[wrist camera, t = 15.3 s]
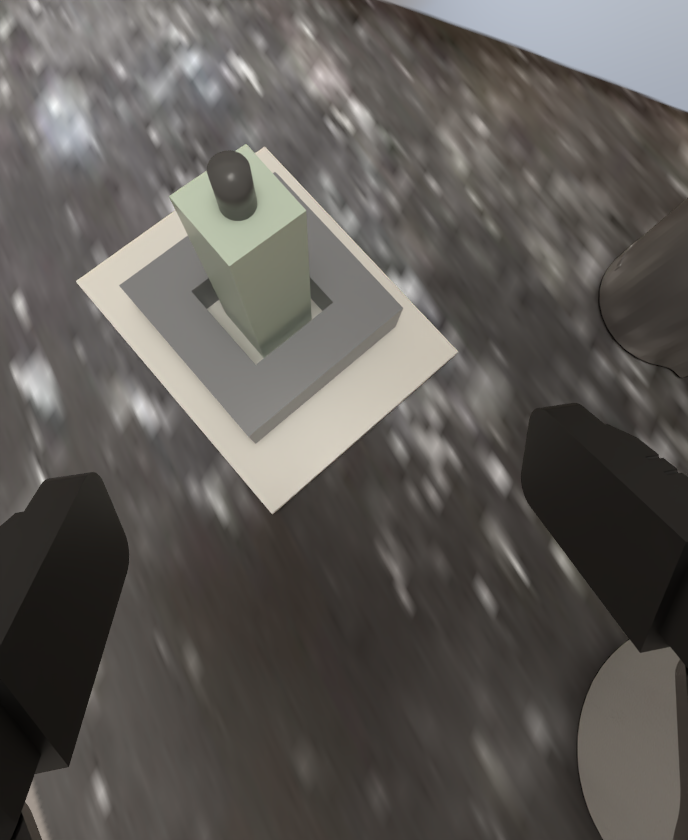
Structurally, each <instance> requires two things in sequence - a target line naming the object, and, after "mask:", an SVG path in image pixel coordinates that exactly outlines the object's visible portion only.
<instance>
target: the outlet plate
mask: <svg viewBox="0 0 688 840" xmlns="http://www.w3.org/2000/svg"><path fill="white" fill-rule="evenodd" d="M255 154H256V155H257V156H258V158H259V159H260V160H261V161H262V162H263V163H264V164H265V165H266V166H267V167H268V169H269V170H270V171H271V172H272V173H273V174H274V175H275V176H276V177H277V179H278V180H279V181H280V182H281V183H282V184H283V185H284V186H285V187H286V189H287V190H288V191H289V192H290V193H291V194H292V195H293V196H294V197H295V198H296V200H297V201H298V202H299V203H300V204H301V205H302V206H303V207H304V208H305V210H306V214H307V234H308V255H309V275H310V295H311V316H312V320H311V321H310V322H308V323H307V324H306V325H305V326H303V327H302V328H301V329H300V330H298V331H297V332H296V333H295V334H293V335H292V336H291V337H290V338H288V339H287V340H286V341H285V342H283V343H282V344H281V345H280V346H278V347H277V348H276V349H275V350H274V351H272V352H271V353H270V354H269V355H267V356H266V357H265V358H263V357H262V356H261V355H260V353H259V352H258V351H257V350H256V349H255V347H254V346H253V345H252V344H251V343H250V342H249V340H248V339H247V338H246V337H245V336H244V334H243V333H242V332H241V331H240V330H239V329H238V327H237V326H236V325H235V324H234V323H233V322H232V320H231V319H230V318H229V317H228V316H227V314H226V313H225V311H224V309H223V307H222V305H221V302H220V300H219V298H218V296H217V294H216V292H215V290H214V288H213V286H212V284H211V282H210V280H209V278H208V276H207V274H206V272H205V270H204V268H203V265H202V263H201V261H200V259H199V257H198V255H197V253H196V251H195V249H194V247H193V245H192V243H191V241H190V239H189V237H188V235H187V233H186V231H185V228H184V226H183V224H182V222H181V220H180V218H179V216H178V214H177V212H176V210H175V211H174V212H172V213H171V214H169V215H168V216H167V217H165V218H164V219H162V220H161V221H160V222H158V223H157V224H155V225H154V226H153V227H151V228H150V229H148V230H147V231H146V232H144V233H143V234H141V235H140V236H139V237H137V238H136V239H134V240H133V241H132V242H130V243H129V244H127V245H126V246H125V247H123V248H122V249H120V250H119V251H118V252H116V253H115V254H113V255H112V256H111V257H109V258H108V259H106V260H105V261H104V262H102V263H101V264H99V265H98V266H97V267H95V268H94V269H92V270H91V271H90V272H88V273H87V274H85V275H84V276H83V277H81V278H80V279H78V280H77V281H76V282H77V283H78V285H79V286H80V287H81V288H82V289H83V291H84V292H85V293H86V294H87V295H88V297H89V298H90V299H91V300H92V301H93V302H94V304H95V305H96V306H97V307H98V308H99V310H100V311H101V312H102V313H103V314H104V315H105V317H106V318H107V319H108V320H109V321H110V323H111V324H112V325H113V326H114V327H115V329H116V330H117V331H118V332H119V333H120V334H121V336H122V337H123V338H124V339H125V340H126V342H127V343H128V344H129V345H130V346H131V347H132V349H133V350H134V351H135V352H136V353H137V355H138V356H139V357H140V358H141V359H142V361H143V362H144V363H145V364H146V365H147V366H148V368H149V369H150V370H151V371H152V372H153V374H154V375H155V376H156V377H157V378H158V379H159V381H160V382H161V383H162V384H163V385H164V387H165V388H166V389H167V390H168V391H169V393H170V394H171V395H172V396H173V397H174V398H175V400H176V401H177V402H178V403H179V404H180V406H181V407H182V408H183V409H184V410H185V411H186V413H187V414H188V415H189V416H190V417H191V419H192V420H193V421H194V422H195V423H196V425H197V426H198V427H199V428H200V429H201V430H202V432H203V433H204V434H205V435H206V436H207V438H208V439H209V440H210V441H211V442H212V444H213V445H214V446H215V447H216V448H217V449H218V451H219V452H220V453H221V454H222V455H223V457H224V458H225V459H226V460H227V461H228V462H229V464H230V465H231V466H232V467H233V468H234V470H235V471H236V472H237V473H238V474H239V476H240V477H241V478H242V479H243V480H244V481H245V483H246V484H247V485H248V486H249V487H250V489H251V490H252V491H253V492H254V493H255V494H256V496H257V497H258V498H259V499H260V500H261V502H262V503H263V504H264V505H265V506H266V508H267V509H268V510H269V511H270V512H271V513H272V514H274V513H275V512H276V511H278V510H279V509H280V508H281V507H282V506H283V505H284V504H286V503H287V502H288V501H289V500H290V499H291V498H292V497H294V496H295V495H296V494H297V493H298V492H299V491H300V490H302V489H303V488H304V487H305V486H306V485H307V484H309V483H310V482H311V481H312V480H313V479H314V478H315V477H317V476H318V475H319V474H320V473H321V472H322V471H323V470H325V469H326V468H327V467H328V466H329V465H330V464H331V463H333V462H334V461H335V460H336V459H337V458H338V457H339V456H341V455H342V454H343V453H344V452H345V451H346V450H347V449H349V448H350V447H351V446H352V445H353V444H354V443H355V442H357V441H358V440H359V439H360V438H361V437H362V436H363V435H365V434H366V433H367V432H368V431H369V430H370V429H371V428H373V427H374V426H375V425H376V424H377V423H378V422H379V421H381V420H382V419H383V418H384V417H385V416H386V415H387V414H389V413H390V412H391V411H392V410H393V409H394V408H396V407H397V406H398V405H399V404H400V403H401V402H402V401H404V400H405V399H406V398H407V397H408V396H409V395H410V394H412V393H413V392H414V391H415V390H416V389H417V388H418V387H420V386H421V385H422V384H423V383H424V382H425V381H426V380H428V379H429V378H430V377H431V376H432V375H433V374H434V373H436V372H437V371H438V370H439V369H440V368H441V367H442V366H444V365H445V364H446V363H447V362H448V361H449V360H450V359H452V358H453V357H454V356H455V355H456V354H457V352H458V351H457V350H456V349H455V348H454V347H453V346H452V345H451V344H450V342H449V341H448V340H447V339H446V338H445V337H444V336H443V335H442V334H441V333H440V332H439V331H438V330H437V329H436V328H435V327H434V326H433V324H432V323H431V322H430V321H429V320H428V319H427V318H426V317H425V316H424V315H423V314H422V313H421V312H420V311H419V310H418V309H417V307H416V306H415V305H414V304H413V303H412V302H411V301H410V300H409V299H408V298H407V297H406V296H405V295H404V294H403V293H402V292H401V291H400V289H399V288H398V287H397V286H396V285H395V284H394V283H393V282H392V281H391V280H390V279H389V278H388V277H387V276H386V275H385V274H384V273H383V271H382V270H381V269H380V268H379V267H378V266H377V265H376V264H375V263H374V262H373V261H372V260H371V259H370V258H369V257H368V256H367V254H366V253H365V252H364V251H363V250H362V249H361V248H360V247H359V246H358V245H357V244H356V243H355V242H354V241H353V240H352V239H351V238H350V236H349V235H348V234H347V233H346V232H345V231H344V230H343V229H342V228H341V227H340V226H339V225H338V224H337V223H336V222H335V221H334V220H333V218H332V217H331V216H330V215H329V214H328V213H327V212H326V211H325V210H324V209H323V208H322V207H321V206H320V205H319V204H318V203H317V201H316V200H315V199H314V198H313V197H312V196H311V195H310V194H309V193H308V192H307V191H306V190H305V189H304V188H303V187H302V186H301V185H300V183H299V182H298V181H297V180H296V179H295V178H294V177H293V176H292V175H291V174H290V173H289V172H288V171H287V170H286V169H285V168H284V167H283V165H282V164H281V163H280V162H279V161H278V160H277V159H276V158H275V157H274V156H273V155H272V154H271V153H270V152H269V151H268V150H267V149H266V147H263V148H262V149H260V150H259V151H258V152H256V153H255Z"/></svg>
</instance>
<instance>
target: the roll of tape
mask: <svg viewBox="0 0 688 840" xmlns="http://www.w3.org/2000/svg"><path fill="white" fill-rule="evenodd" d="M679 660H680V658H679V657H678V656H677V655H676V653H675V652H674V651H673V650H672V648H671V647H667V648H662V649H657V650H652V651H648V652H643V653H640V652H639V651H638V650H637V648H636V647H635V646H634V644H633V643H632V642H631V640H628V641H627V642H625V643H624V644H623V645H622V646H620V647H619V648H618V649H617V650H616V651H615V652H614V653H613V654H612V655H611V656H610V657H609V658H608V660H607V661H606V662H605V663H604V665H603V666H602V667H601V669H600V670H599V672H598V674H597V675H596V677H595V678H594V680H593V682H592V684H591V687H590V689H589V691H588V694H587V696H586V699H585V702H584V705H583V709H582V713H581V717H580V723H579V731H578V768H579V775H580V781H581V785H582V790H583V794H584V798H585V801H586V804H587V807H588V810H589V812H590V815H591V817H592V819H593V821H594V824H595V826H596V827H597V829H598V831H599V833H600V835H601V837H602V838H603V840H673V836H674V831H675V827H676V823H677V820H678V815H679V808H680V771H679V750H678V729H677V708H676V687H675V669H676V666H677V664H678V662H679Z"/></svg>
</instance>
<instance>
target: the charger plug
mask: <svg viewBox="0 0 688 840" xmlns="http://www.w3.org/2000/svg"><path fill="white" fill-rule="evenodd" d="M169 198H170V200H171V202H172V204H173V206H174V208H175V210H176V212H177V214H178V216H179V218H180V220H181V222H182V224H183V226H184V228H185V231H186V233H187V235H188V237H189V239H190V241H191V243H192V245H193V247H194V249H195V251H196V253H197V255H198V257H199V259H200V261H201V263H202V265H203V268H204V270H205V272H206V274H207V276H208V278H209V280H210V282H211V284H212V286H213V288H214V290H215V292H216V294H217V296H218V298H219V300H220V302H221V305H222V307H223V309H224V311H225V313H226V314H227V316H228V317H229V318H230V319H231V320H232V322H233V323H234V324H235V325H236V326H237V327H238V329H239V330H240V331H241V332H242V333H243V334H244V336H245V337H246V338H247V339H248V340H249V342H250V343H251V344H252V345H253V346H254V347H255V349H256V350H257V351H258V352H259V353H260V355H261V356H262V357H263V358H265V357H266V356H267V355H269V354H270V353H271V352H272V351H274V350H275V349H276V348H277V347H278V346H280V345H281V344H282V343H283V342H285V341H286V340H287V339H288V338H290V337H291V336H292V335H293V334H295V333H296V332H297V331H298V330H300V329H301V328H302V327H303V326H305V325H306V324H307V323H308V322H310V321H311V320H312V316H311V295H310V275H309V255H308V234H307V214H306V210H305V208H304V207H303V206H302V205H301V204H300V203H299V202H298V201H297V200H296V198H295V197H294V196H293V195H292V194H291V193H290V192H289V191H288V190H287V189H286V187H285V186H284V185H283V184H282V183H281V182H280V181H279V180H278V179H277V177H276V176H275V175H274V174H273V173H272V172H271V171H270V170H269V169H268V167H267V166H266V165H265V164H264V163H263V162H262V161H261V160H260V159H259V158H258V156H257V155H256V154H255V153H254V152H253V151H252V150H251V149H250V148H249V146H248V145H247V144H245V145H244V146H242V147H241V148H239V149H238V150H236V151H222V152H219V153H217V154H216V155H214V156H213V157H212V158H211V159H210V161H209V163H208V165H207V171H205V172H204V173H203V174H201V175H200V176H198V177H197V178H195V179H194V180H192V181H191V182H189V183H188V184H186V185H185V186H183V187H182V188H180V189H179V190H178V191H176V192H175V193H173V194H172V195H170V196H169Z"/></svg>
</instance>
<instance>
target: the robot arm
mask: <svg viewBox="0 0 688 840" xmlns="http://www.w3.org/2000/svg"><path fill="white" fill-rule="evenodd" d="M600 307H601V312H602V316H603V319H604V321H605V323H606V326H607V328H608V330H609V331H610V332H611V334H612V335H613V337H614V338H615V340H616V341H617V342H618V343H619V344H620V345H621V346H622V347H623V348H624V349H625V350H627V351H628V352H630V353H631V354H633V355H634V356H636V357H637V358H639V359H641V360H644V361H646V362H648V363H651V364H655V365H660V366H664V367H668V368H670V369H672V370H673V371H674V372H675V373H676V374H677V375H678V376H679V377H681V378H684V377H687V376H688V198H687V199H686V200H685V201H684V202H682V203H681V204H680V205H679V206H678V207H676V208H675V209H674V210H673V211H672V212H671V213H669V214H668V215H667V216H666V217H665V218H663V219H662V220H661V221H660V222H659V223H658V224H656V225H655V226H654V227H653V228H652V229H651V230H649V231H648V232H647V233H646V234H645V235H643V236H642V237H641V238H640V239H638V240H637V241H635V242H634V243H633V244H632V245H631V246H630V247H629V248H628V249H626V251H625V252H623V253H622V254H621V255H620V256H619V257H618V258H616V259H615V261H614V262H613V263H612V264H611V265H610V266H609V267H608V269H607V271H606V273H605V275H604V277H603V279H602V283H601V287H600ZM521 483H522V488H523V492H524V495H525V498H526V500H527V502H528V504H529V505H530V507H531V508H532V509H533V511H534V512H535V513H536V515H537V516H538V517H539V519H540V520H541V521H542V523H543V524H544V525H545V527H546V528H547V529H548V531H549V532H550V533H551V535H552V536H553V537H554V539H555V540H556V541H557V543H558V544H559V545H560V547H561V548H562V549H563V551H564V552H565V553H566V555H567V556H568V557H569V559H570V560H571V562H572V563H573V564H574V566H575V567H576V568H577V570H578V571H579V572H580V574H581V575H582V576H583V578H584V579H585V580H586V582H587V583H588V584H589V586H590V587H591V588H592V590H593V591H594V592H595V594H596V595H597V596H598V598H599V599H600V600H601V602H602V603H603V604H604V606H605V607H606V608H607V610H608V611H609V612H610V614H611V615H612V616H613V618H614V619H615V620H616V622H617V623H618V624H619V626H620V627H621V628H622V630H623V631H624V632H625V634H626V635H627V636H628V638H629V639H630V640H631V642H632V643H633V644H634V646H635V647H636V648H637V650H638V651H639V652H640V653H643V652H648V651H652V650H657V649H662V648H667V647H671V648H672V650H673V651H674V652H675V653H676V655H677V656H678V657H679V658H680V660H679V662H678V664H677V666H676V669H675V687H676V708H677V729H678V750H679V771H680V808H679V815H678V820H677V823H676V827H675V831H674V836H673V840H688V477H687V476H685V475H684V474H683V473H680V474H679V473H678V472H677V469H676V468H675V467H674V466H673V465H671V464H670V463H669V462H668V461H666V460H665V459H664V458H659V454H657V453H656V452H655V451H653V450H652V449H651V448H650V447H648V446H647V445H646V444H644V443H643V442H642V441H641V440H639V439H638V438H637V437H635V436H633V435H630V434H628V433H626V432H624V431H622V430H619V429H617V428H615V427H613V426H610V425H608V424H606V425H605V424H604V423H603V422H601V421H600V420H599V419H598V418H597V417H595V416H594V415H593V414H592V413H590V412H589V411H588V410H587V409H586V408H584V407H583V406H582V405H580V404H578V403H570V404H563V405H556V406H549V407H543V408H537V409H535V410H534V411H533V412H532V414H531V416H530V420H529V426H528V432H527V439H526V445H525V452H524V458H523V465H522V472H521ZM128 565H129V548H128V542H127V538H126V535H125V533H124V530H123V528H122V525H121V523H120V521H119V518H118V516H117V514H116V511H115V509H114V506H113V504H112V502H111V499H110V497H109V495H108V492H107V490H106V487H105V485H104V483H103V481H102V479H101V478H100V476H99V475H98V474H96V473H94V472H91V473H84V474H77V475H70V476H63V477H57V478H50V479H46V480H45V481H44V482H43V483H42V484H41V485H40V487H39V489H38V490H37V492H36V493H35V495H34V497H33V498H32V500H31V501H30V503H29V505H28V506H27V508H26V509H25V511H24V512H19V513H15V514H14V515H13V516H12V517H11V518H9V519H8V520H7V521H6V522H5V523H4V524H2V525H1V526H0V840H42V839H41V836H40V834H39V831H38V828H37V825H36V823H35V820H34V817H33V815H32V812H31V810H30V809H29V807H28V805H27V804H26V803H25V800H26V797H27V794H28V791H29V789H30V786H31V783H32V780H33V777H34V774H37V773H42V772H47V771H51V770H56V769H61V768H66V767H69V764H70V761H71V758H72V754H73V751H74V748H75V744H76V741H77V738H78V734H79V731H80V728H81V724H82V721H83V718H84V714H85V711H86V708H87V704H88V701H89V698H90V694H91V691H92V688H93V684H94V681H95V678H96V674H97V671H98V668H99V664H100V661H101V658H102V654H103V651H104V648H105V644H106V641H107V638H108V634H109V631H110V627H111V624H112V621H113V617H114V614H115V611H116V607H117V604H118V601H119V597H120V594H121V591H122V587H123V584H124V581H125V577H126V574H127V570H128Z"/></svg>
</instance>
